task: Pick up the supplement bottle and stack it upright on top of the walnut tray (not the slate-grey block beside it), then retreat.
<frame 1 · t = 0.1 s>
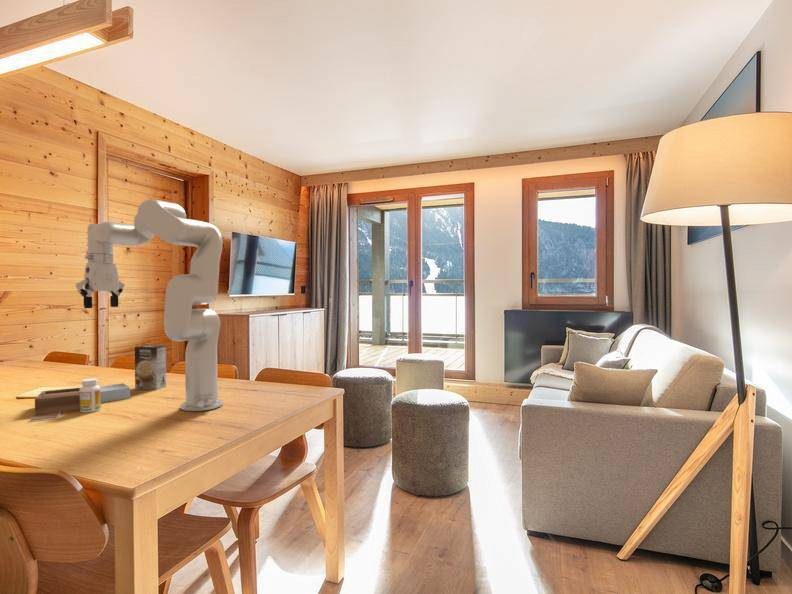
hand: (101, 307, 160), 31 cm above the table, tool pointing down, fingers open, 9 cm apart
coffee box: (150, 388, 172), on the table
supplement bottle: (90, 411, 141), on the table
walnut tray: (62, 407, 144), on the table
slate block: (112, 398, 157), on the table
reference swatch: (45, 417, 134), on the table
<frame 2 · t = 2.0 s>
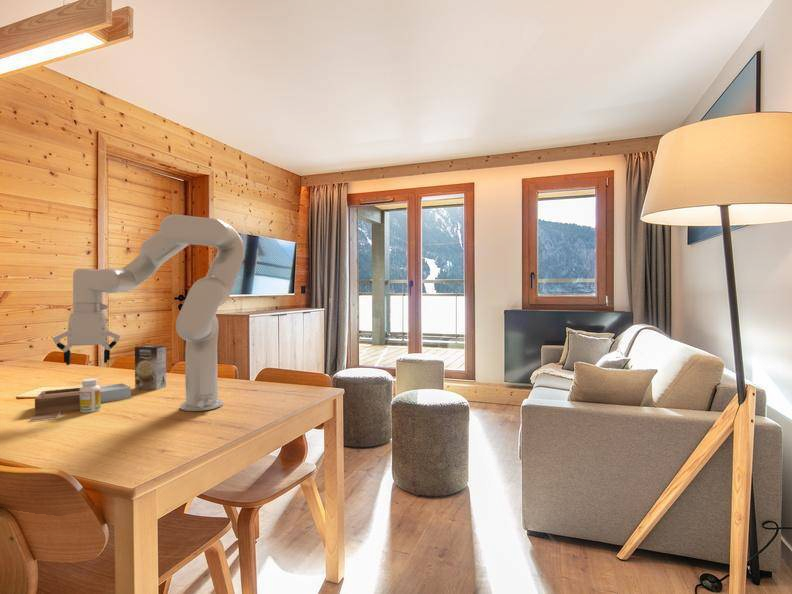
hand: (87, 363, 140), 15 cm above the table, tool pointing down, fingers open, 9 cm apart
nothing on the table moved.
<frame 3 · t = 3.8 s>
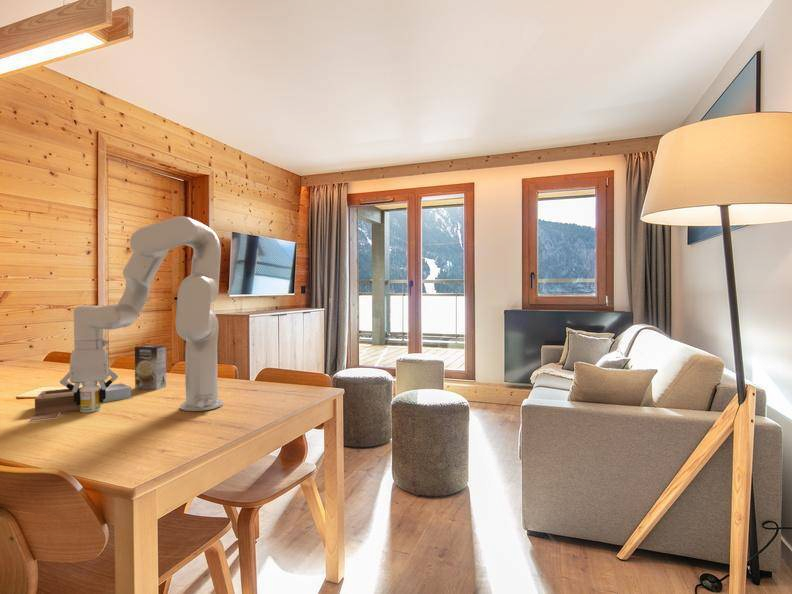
hand: (90, 402, 141), 3 cm above the table, tool pointing down, fingers closed on supplement bottle, 5 cm apart
supplement bottle: (90, 411, 141), on the table, touching gripper
everything else where it was.
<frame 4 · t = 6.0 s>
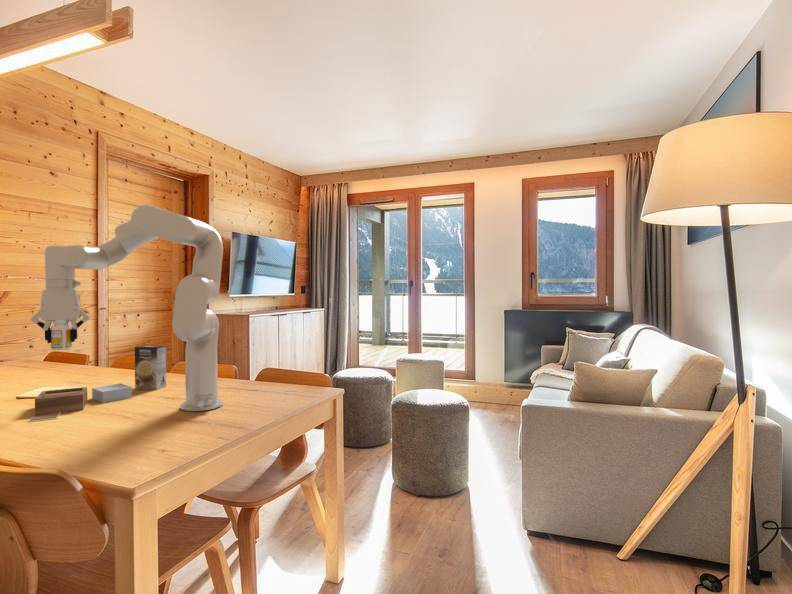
hand: (61, 341, 143), 21 cm above the table, tool pointing down, fingers closed on supplement bottle, 5 cm apart
supplement bottle: (61, 349, 143), point 19 cm above the table, touching gripper
everything else where it was.
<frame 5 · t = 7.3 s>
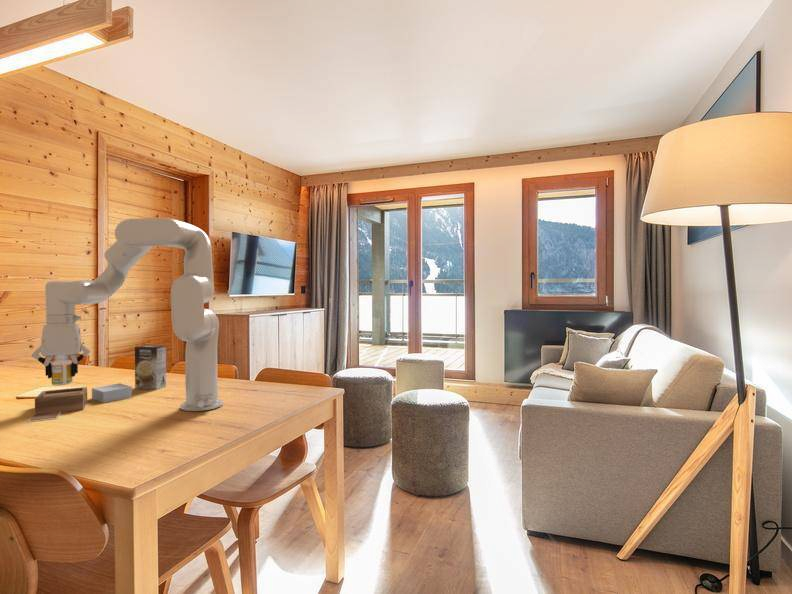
hand: (62, 376, 144), 10 cm above the table, tool pointing down, fingers closed on supplement bottle, 5 cm apart
supplement bottle: (62, 384, 144), point 7 cm above the table, touching gripper
everything else where it was.
when the fingers open (7 cm above the table, at t = 8.3 s): supplement bottle stays where it is, resting on walnut tray.
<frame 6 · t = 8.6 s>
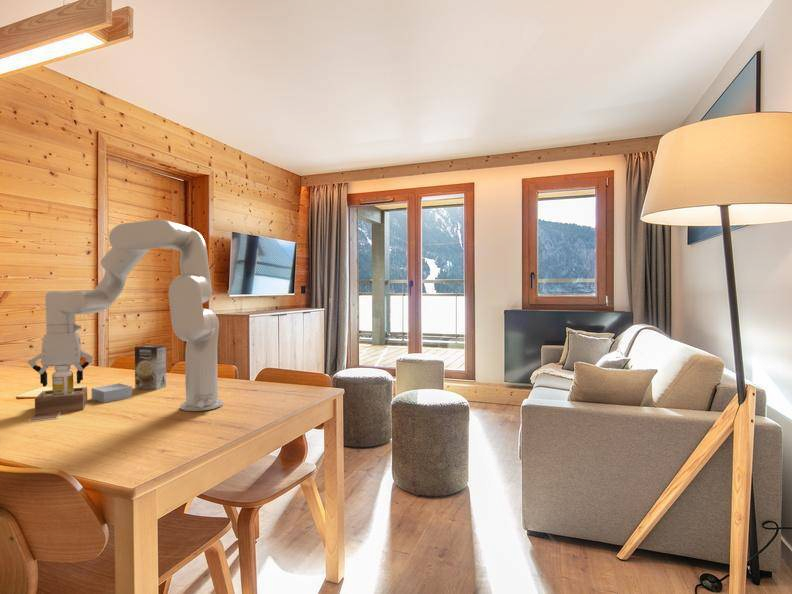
hand: (62, 384, 144), 8 cm above the table, tool pointing down, fingers open, 8 cm apart
supplement bottle: (63, 395, 144), point 4 cm above the table, touching walnut tray
everything else where it was.
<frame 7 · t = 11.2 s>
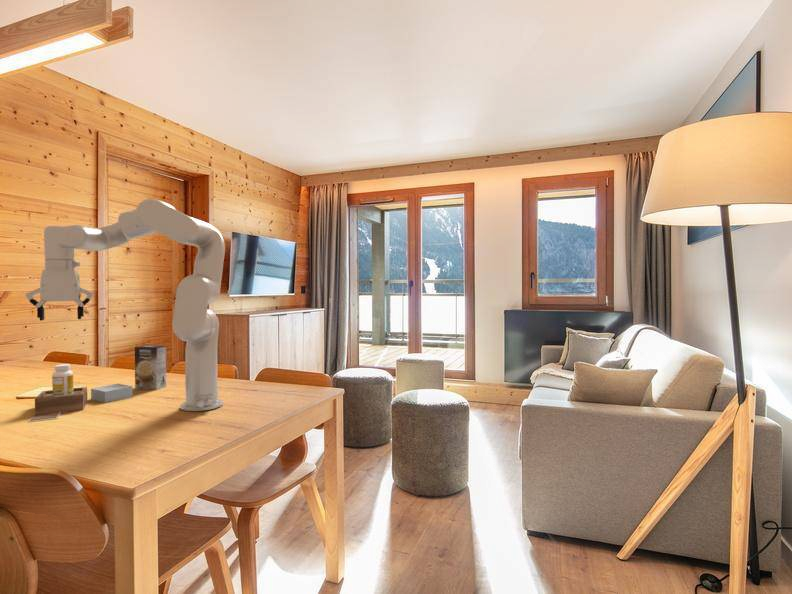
hand: (61, 319, 143), 28 cm above the table, tool pointing down, fingers open, 9 cm apart
nothing on the table moved.
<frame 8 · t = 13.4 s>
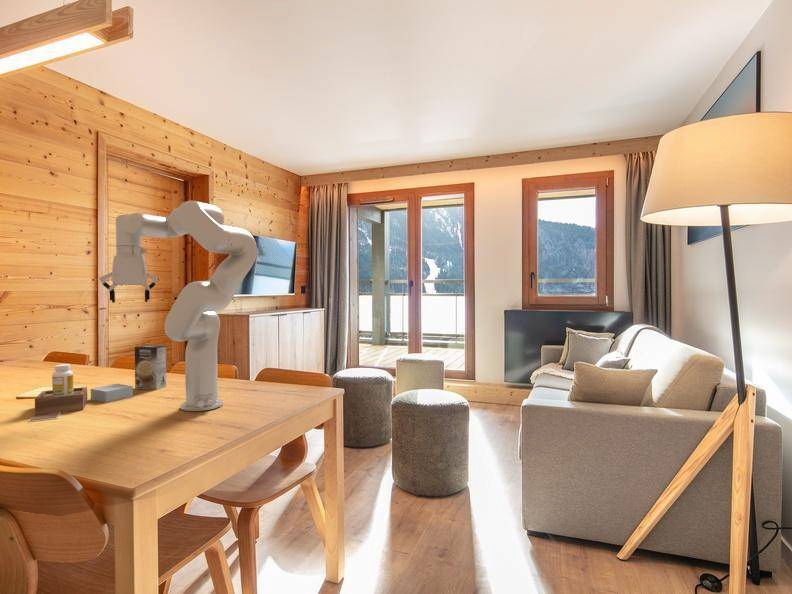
hand: (130, 302, 154), 33 cm above the table, tool pointing down, fingers open, 9 cm apart
at the end: supplement bottle inside the target area on the walnut tray (0.2 cm from its centre), point 3.8 cm above the walnut tray's base; supplement bottle tilted 0°; the gripper is holding nothing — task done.
